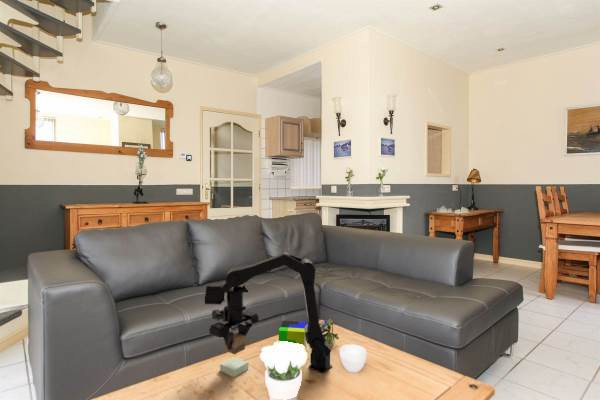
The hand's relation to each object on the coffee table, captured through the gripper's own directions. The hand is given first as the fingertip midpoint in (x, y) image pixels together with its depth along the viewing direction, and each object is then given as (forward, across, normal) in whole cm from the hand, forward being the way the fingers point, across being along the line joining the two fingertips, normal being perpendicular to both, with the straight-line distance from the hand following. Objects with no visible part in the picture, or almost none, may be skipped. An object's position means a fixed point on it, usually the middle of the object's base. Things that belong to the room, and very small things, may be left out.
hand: (234, 346), depth 130 cm
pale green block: (+8, 0, 0) cm, 8 cm away
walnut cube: (+1, 0, 0) cm, 1 cm away
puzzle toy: (+9, -25, +7) cm, 27 cm away
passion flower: (+9, -40, +13) cm, 43 cm away
